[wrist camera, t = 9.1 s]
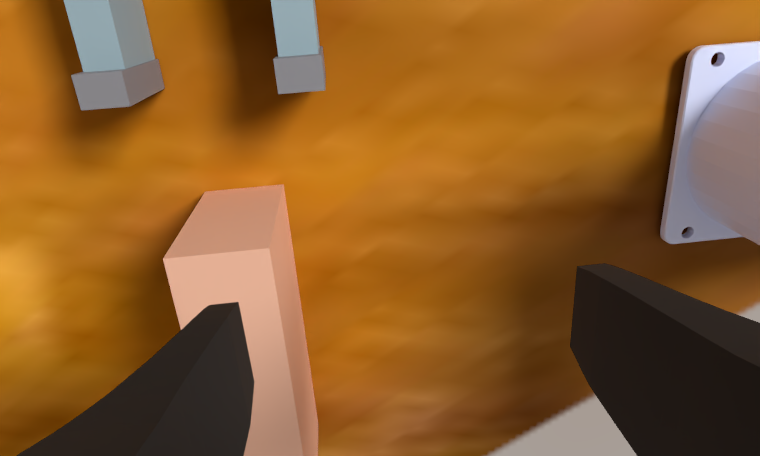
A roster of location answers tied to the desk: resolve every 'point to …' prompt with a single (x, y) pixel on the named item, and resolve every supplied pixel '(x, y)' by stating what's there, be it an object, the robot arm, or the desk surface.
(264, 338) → the salmon pink block
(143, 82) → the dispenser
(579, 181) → the desk surface
